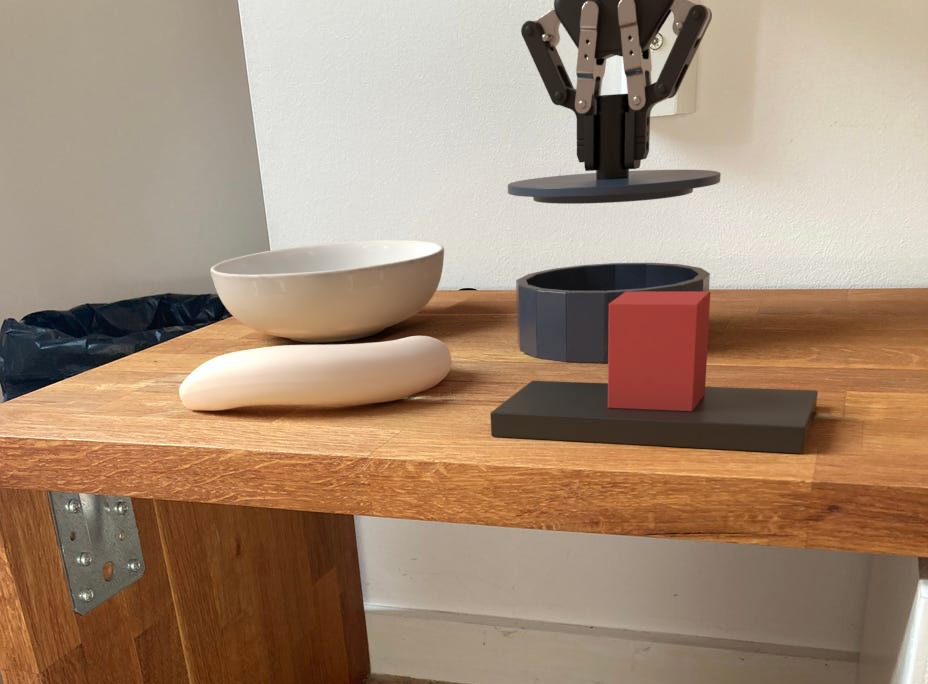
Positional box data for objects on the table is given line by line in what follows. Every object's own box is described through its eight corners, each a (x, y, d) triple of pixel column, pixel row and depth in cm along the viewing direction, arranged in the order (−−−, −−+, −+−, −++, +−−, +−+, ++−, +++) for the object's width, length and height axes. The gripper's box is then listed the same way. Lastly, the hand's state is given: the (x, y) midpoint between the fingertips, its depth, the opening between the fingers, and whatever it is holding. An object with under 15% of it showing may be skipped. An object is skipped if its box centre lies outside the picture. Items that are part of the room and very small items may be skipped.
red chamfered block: (705, 394, 62) (710, 291, 59) (692, 412, 59) (698, 303, 56) (623, 391, 64) (625, 291, 61) (607, 408, 61) (608, 303, 58)
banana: (163, 427, 69) (217, 376, 82) (446, 426, 68) (455, 376, 81) (152, 352, 66) (209, 313, 79) (445, 351, 65) (455, 312, 78)
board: (815, 414, 62) (818, 390, 61) (802, 454, 56) (805, 427, 55) (532, 402, 69) (531, 380, 68) (490, 436, 62) (489, 412, 61)
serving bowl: (300, 310, 108) (292, 240, 104) (483, 314, 99) (480, 238, 96) (174, 353, 91) (159, 272, 88) (380, 362, 83) (373, 272, 79)
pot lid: (734, 183, 80) (740, 86, 77) (699, 202, 68) (704, 87, 65) (543, 190, 86) (542, 99, 83) (478, 209, 73) (473, 103, 70)
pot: (718, 331, 85) (722, 261, 83) (684, 372, 73) (688, 292, 71) (550, 329, 91) (549, 263, 88) (493, 366, 79) (490, 292, 76)
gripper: (498, -111, 68) (507, 177, 75) (713, -143, 62) (698, 169, 70) (533, -95, 74) (538, 169, 82) (732, -123, 69) (716, 162, 77)
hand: (612, 168), depth 76 cm, fingers closed on pot lid, 2 cm apart
